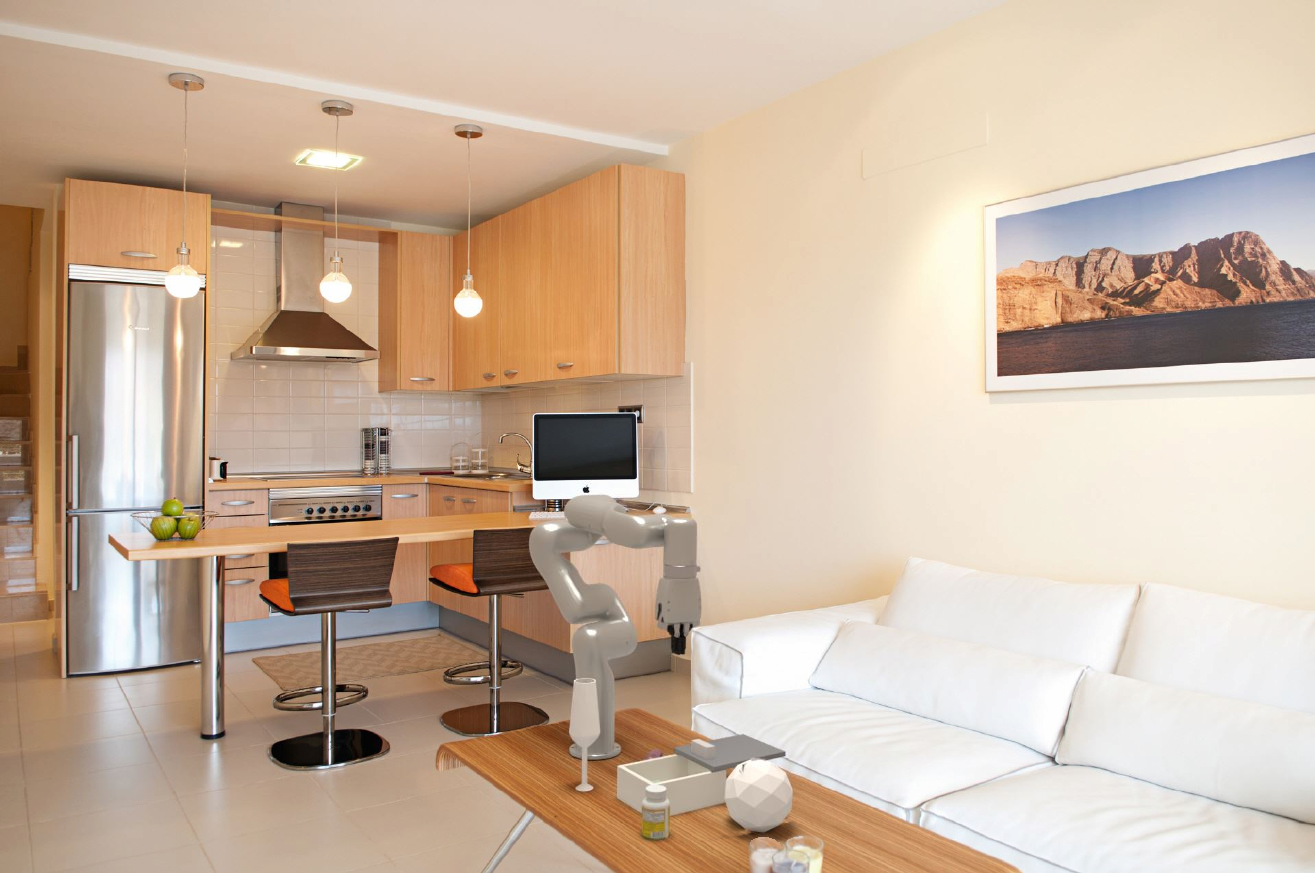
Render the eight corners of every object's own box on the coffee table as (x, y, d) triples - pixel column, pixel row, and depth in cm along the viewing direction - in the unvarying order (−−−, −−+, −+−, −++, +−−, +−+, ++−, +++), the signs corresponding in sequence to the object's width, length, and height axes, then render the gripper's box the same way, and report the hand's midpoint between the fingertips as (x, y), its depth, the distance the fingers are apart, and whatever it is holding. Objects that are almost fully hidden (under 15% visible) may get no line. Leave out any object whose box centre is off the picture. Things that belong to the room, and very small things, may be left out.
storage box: (617, 802, 195) (617, 765, 195) (688, 786, 205) (688, 751, 205) (652, 825, 183) (652, 785, 183) (726, 806, 193) (726, 769, 193)
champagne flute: (576, 785, 205) (577, 676, 206) (604, 789, 203) (605, 678, 204) (563, 795, 199) (564, 683, 200) (592, 799, 197) (592, 685, 197)
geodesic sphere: (754, 822, 170) (780, 752, 176) (697, 803, 179) (724, 737, 186) (790, 851, 178) (814, 783, 184) (734, 831, 187) (759, 767, 194)
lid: (673, 752, 203) (673, 736, 203) (743, 738, 213) (743, 722, 213) (713, 771, 191) (713, 754, 191) (785, 756, 201) (785, 739, 201)
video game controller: (647, 791, 206) (661, 763, 206) (629, 780, 207) (643, 753, 207) (655, 776, 216) (669, 749, 216) (638, 766, 217) (651, 739, 216)
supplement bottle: (657, 847, 173) (657, 795, 173) (635, 839, 176) (635, 788, 176) (675, 838, 177) (675, 787, 177) (654, 831, 180) (654, 781, 180)
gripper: (698, 568, 217) (697, 647, 217) (642, 572, 210) (641, 653, 210) (716, 572, 211) (715, 653, 211) (659, 576, 203) (658, 660, 203)
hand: (678, 653), depth 210 cm, fingers closed
